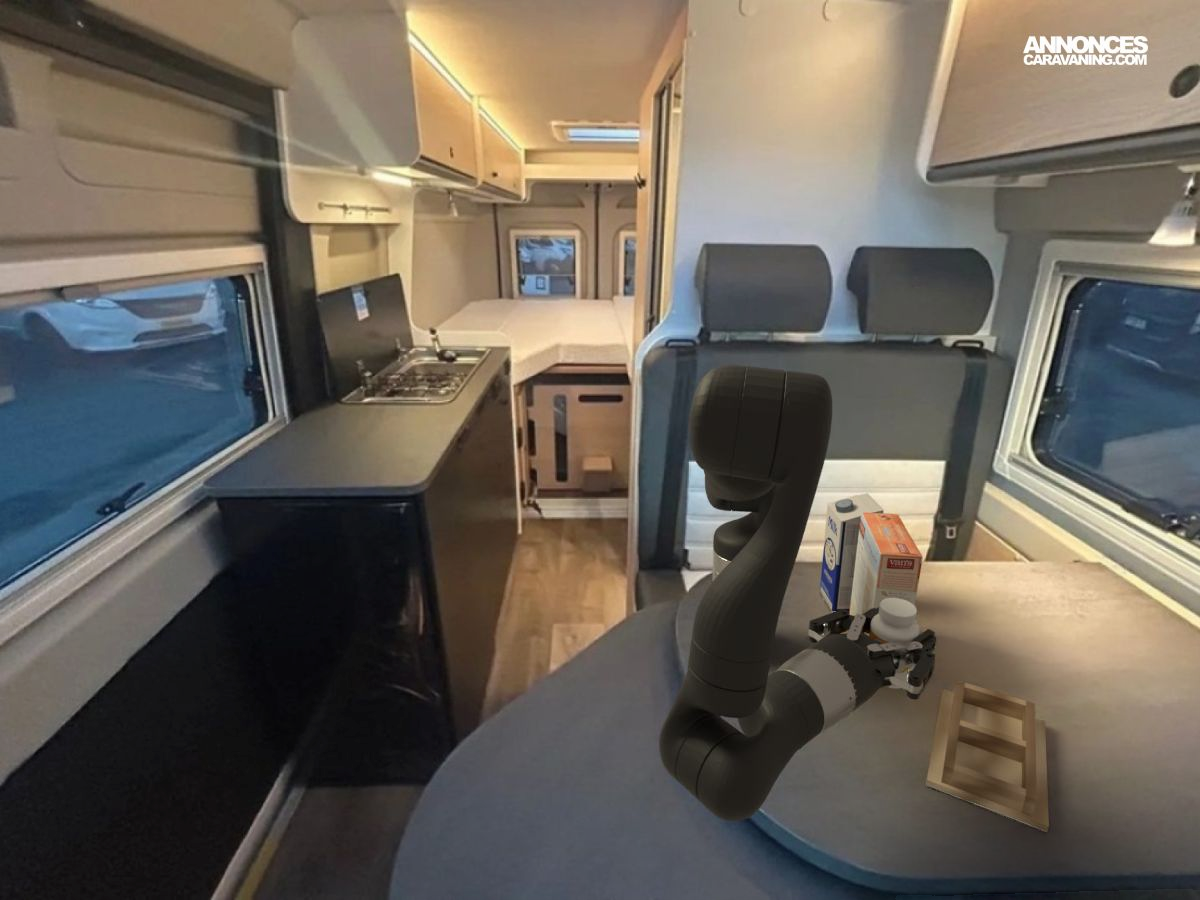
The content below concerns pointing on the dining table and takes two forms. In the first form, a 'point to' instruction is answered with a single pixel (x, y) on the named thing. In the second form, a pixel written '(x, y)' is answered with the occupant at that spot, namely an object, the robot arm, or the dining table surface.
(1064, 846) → the dining table surface
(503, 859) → the dining table surface
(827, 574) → the milk carton
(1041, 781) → the tray
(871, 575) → the cracker box
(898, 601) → the supplement bottle
